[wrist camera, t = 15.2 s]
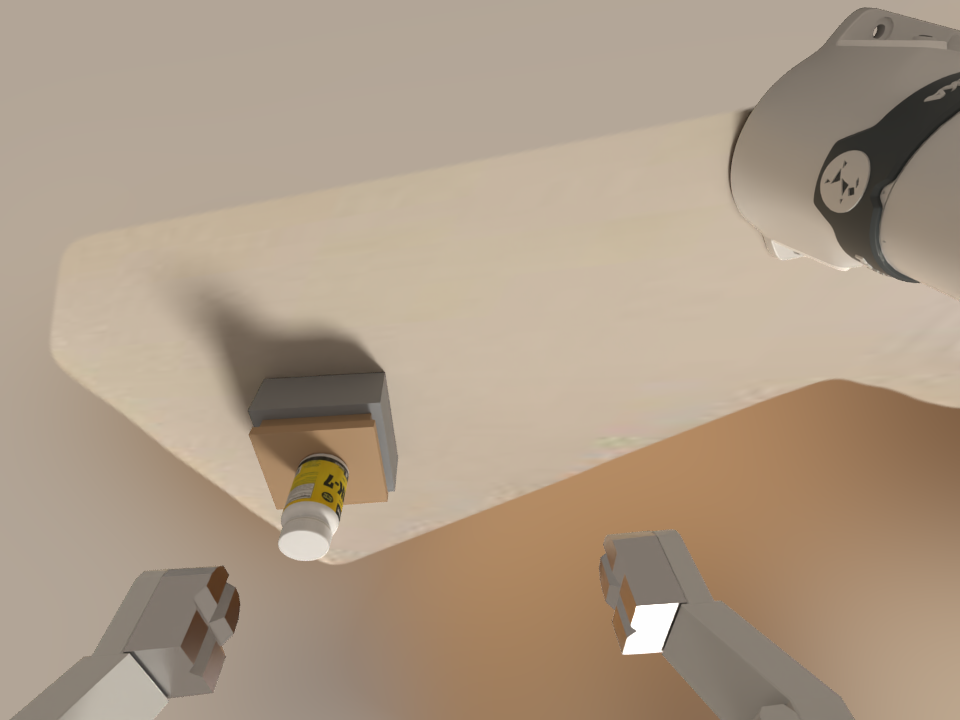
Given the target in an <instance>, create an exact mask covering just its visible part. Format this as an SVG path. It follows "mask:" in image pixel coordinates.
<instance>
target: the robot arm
mask: <svg viewBox="0 0 960 720" xmlns="http://www.w3.org/2000/svg"><path fill="white" fill-rule="evenodd" d="M876 27H877V33H876V34H875V36H874V37H873V31H874V29H875V28H876ZM731 189H732V194H733V198H734V201H735V203H736V206H737V208H738V210H739V211H740V213H741V214H742V216H743V217H744V218H745V219H746V220H747V221H748V222H749V223H750V224H751V225H753V226H754V227H755V228H756V229H758V230H759V231H760V232H761V234H762V235H763V237H764V241H765V244H766V247H767V249H768V251H769V253H770V254H771V255H772V256H773V257H775V258H777V259H780V260H790V259H795V258H799V257H803V256H806V257H808V258H811V259H813V260H815V261H818V262H820V263H822V264H825V265H827V266H830V267H832V268H834V269H837V270H843V271H847V270H849V269H850V268H854V267H860V266H866V267H867V268H869V269H871V270H873V271H875V272H877V273H880V274H882V275H886V276H888V277H894V278H896V279H898V280H901V281H905V282H912V283H923V284H925V285H927V286H929V287H931V288H933V289H935V290H937V291H939V292H941V293H943V294H945V295H947V296H949V297H951V298H954V299H956V300H958V301H960V31H959V30H955V29H952V28H948V27H944V26H941V25H937V24H933V23H929V22H926V21H922V20H918V19H915V18H911V17H907V16H903V15H900V14H896V13H892V12H889V11H884V10H881V9H877V8H860V9H858V10H856V11H855V12H853V13H852V14H851V15H850V16H849V17H847V18H846V19H845V20H844V22H843V23H842V24H841V25H840V26H839V27H838V28H837V29H836V31H835V32H834V33H833V34H832V36H831V37H830V38H829V39H828V40H827V42H826V43H825V44H824V45H823V46H822V47H821V48H820V49H819V50H818V51H817V52H815V53H814V54H812V55H811V56H810V57H808V58H807V59H805V60H804V61H802V62H801V63H799V64H798V65H796V66H795V67H793V68H792V69H791V70H790V71H788V72H787V73H786V74H785V75H783V76H782V77H781V78H780V79H779V80H778V81H777V82H776V83H775V84H774V85H773V86H772V87H771V88H770V89H769V90H768V91H767V92H766V94H765V95H764V96H763V97H762V98H761V100H760V101H759V102H758V104H757V105H756V106H755V108H754V109H753V111H752V113H751V114H750V116H749V117H748V119H747V121H746V123H745V125H744V127H743V129H742V131H741V133H740V136H739V138H738V141H737V144H736V147H735V150H734V154H733V159H732V165H731ZM603 545H604V549H605V551H606V554H604V555H603V556H602V557H601V559H600V566H599V572H600V581H601V586H602V591H603V594H604V598H605V601H606V602H607V603H608V604H609V605H610V606H611V607H612V608H613V609H614V610H615V612H614V616H613V621H612V623H613V627H614V630H615V633H616V636H617V639H618V643H619V646H620V649H621V652H622V654H623V655H624V654H639V653H654V652H663V653H662V655H663V656H664V657H665V658H666V659H667V661H668V662H669V663H670V664H671V665H672V666H673V667H674V668H675V669H676V671H677V672H678V673H679V674H680V675H681V676H682V677H683V678H684V679H685V681H687V683H688V684H689V685H690V686H691V687H692V688H693V689H694V690H695V692H696V693H697V694H698V695H699V696H700V697H701V698H702V700H703V701H704V702H705V703H706V704H707V705H708V706H709V707H710V708H711V710H712V711H713V712H714V713H715V714H716V715H717V716H718V717H719V718H720V720H855V719H854V717H853V716H852V714H851V713H850V711H849V709H848V708H847V706H846V704H845V703H844V701H843V700H842V698H841V697H840V696H839V695H838V694H837V693H835V692H834V691H833V690H832V689H830V688H829V687H828V686H826V685H825V684H824V683H823V682H822V681H820V680H819V679H818V678H816V677H815V676H814V675H813V674H812V673H811V672H809V671H808V670H807V669H806V668H804V667H803V666H802V665H801V664H799V663H798V662H797V661H796V660H794V659H793V658H792V657H791V656H789V655H788V654H787V653H785V652H784V651H783V650H782V649H781V648H779V647H778V646H777V645H776V644H774V643H773V642H772V641H771V640H769V639H768V638H767V637H766V636H764V635H763V634H762V633H761V632H759V631H758V630H757V629H756V628H754V627H753V626H752V625H751V624H750V623H748V622H747V621H746V620H744V619H743V618H742V617H741V616H740V615H738V614H737V613H736V612H735V611H733V610H732V609H731V608H729V607H728V606H727V605H726V604H725V603H723V602H722V601H714V600H713V598H712V596H711V594H710V592H709V590H708V588H707V586H706V584H705V582H704V580H703V578H702V576H701V574H700V572H699V571H698V569H697V567H696V565H695V563H694V561H693V559H692V557H691V555H690V553H689V551H688V549H687V547H686V546H685V543H684V542H683V540H682V538H681V536H680V534H679V533H678V532H677V531H676V530H672V529H671V530H661V531H643V532H632V533H622V534H612V535H607V536H606V537H605V540H604V544H603ZM228 577H229V574H228V572H227V570H226V569H225V567H224V566H211V567H196V568H182V569H163V570H151V571H144V572H143V573H142V574H141V575H140V576H139V577H138V578H136V580H135V581H134V583H133V585H132V586H131V588H130V590H129V592H128V593H127V595H126V597H125V599H124V600H123V602H122V604H121V606H120V607H119V609H118V611H117V613H116V615H115V616H114V618H113V620H112V622H111V623H110V625H109V627H108V629H107V630H106V632H105V634H104V635H103V637H102V639H101V641H100V643H99V644H98V646H97V648H96V649H95V651H94V653H93V655H92V656H87V657H83V658H82V659H81V660H80V661H78V662H77V663H76V664H75V665H74V666H73V667H71V668H70V669H69V670H68V671H67V672H65V673H64V674H63V675H62V676H61V677H59V678H58V679H57V680H56V681H55V682H54V683H52V684H51V685H50V686H49V687H48V688H47V689H45V690H44V691H43V692H42V693H41V694H40V695H38V696H37V697H36V698H35V699H34V700H32V701H31V702H30V703H29V704H28V705H27V706H25V707H24V708H23V709H22V710H21V711H19V712H18V713H17V714H16V715H15V716H14V717H13V718H12V719H10V720H154V719H155V717H156V716H157V715H158V714H159V713H160V711H161V710H162V709H163V708H164V707H165V705H166V704H167V703H168V701H169V700H168V698H176V697H184V696H193V695H200V694H209V693H213V692H214V689H215V687H216V684H217V681H218V678H219V675H220V672H221V670H222V667H223V663H224V661H225V658H226V656H225V653H224V650H223V647H222V645H224V643H226V641H227V640H228V639H229V638H230V637H231V636H232V635H233V634H234V632H235V629H236V626H237V623H238V620H239V612H240V599H239V594H238V592H237V589H236V588H235V587H234V586H232V585H230V584H228V583H227V579H228Z"/></svg>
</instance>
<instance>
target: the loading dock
mask: <svg viewBox="0 0 960 720" xmlns="http://www.w3.org/2000/svg"><path fill="white" fill-rule="evenodd" d="M248 412H249V415H250V418H251V420H252V423H253V426H254V427H252V429H251V431H250V433H249V437H250V439H251V442H252V445H253V447H254V450H255V453H256V455H257V458H258V461H259V463H260V466H261V469H262V471H263V474H264V477H265V479H266V482H267V485H268V487H269V490H270V493H271V495H272V498H273V501H274V503H275V506H276V509H284V507H285V504H286V501H287V498H288V495H289V492H290V489H291V486H292V483H293V480H294V477H295V474H296V471H297V469H298V466H299V464H300V462H301V461H302V460H303V459H305V458H306V457H308V456H310V455H313V454H319V453H324V454H330V455H334V456H336V457H338V458H339V459H341V460H342V461H343V462H344V463H345V464H346V466H347V467H348V470H349V478H348V483H347V488H346V492H345V497H344V502H343V505H346V504H360V503H374V502H387V500H388V492H390V491H395V484H396V473H397V462H398V455H397V448H396V441H395V435H394V428H393V422H392V415H391V408H390V402H389V395H388V389H387V382H386V375H385V372H380V373H363V374H345V375H327V376H310V377H292V378H274V379H264V381H263V383H262V385H261V387H260V388H259V390H258V392H257V394H256V396H255V398H254V400H253V402H252V404H251V406H250V408H249V410H248Z"/></svg>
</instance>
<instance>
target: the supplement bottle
mask: <svg viewBox="0 0 960 720" xmlns="http://www.w3.org/2000/svg"><path fill="white" fill-rule="evenodd" d="M348 478H349V470H348V467H347V466H346V464H345V463H344V462H343V461H342V460H341V459H339V458H338V457H336V456H334V455H330V454H324V453H319V454H313V455H310V456H308V457H306V458H305V459H303V460H302V461H301V462H300V464H299V466H298V469H297V471H296V474H295V477H294V480H293V483H292V486H291V489H290V492H289V495H288V498H287V501H286V504H285V507H284V510H283V513H282V517H281V524H282V527H283V528H282V530H281V534H280V538H279V541H278V546H279V548H280V550H281V552H282V553H283V554H285V555H286V556H288V557H290V558H292V559H296V560H301V561H311V560H316V559H319V558H321V557H323V556H324V555H325V554H326V553H327V552H328V550H329V546H330V543H331V540H332V535H333V534H334V533H335V532H336V530H337V528H338V525H339V521H340V516H341V512H342V507H343V502H344V497H345V492H346V488H347V483H348Z"/></svg>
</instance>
